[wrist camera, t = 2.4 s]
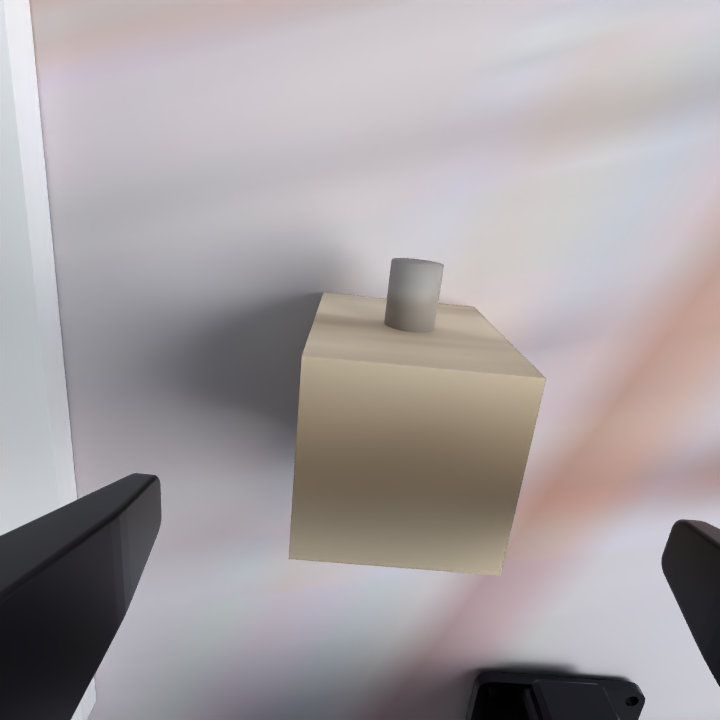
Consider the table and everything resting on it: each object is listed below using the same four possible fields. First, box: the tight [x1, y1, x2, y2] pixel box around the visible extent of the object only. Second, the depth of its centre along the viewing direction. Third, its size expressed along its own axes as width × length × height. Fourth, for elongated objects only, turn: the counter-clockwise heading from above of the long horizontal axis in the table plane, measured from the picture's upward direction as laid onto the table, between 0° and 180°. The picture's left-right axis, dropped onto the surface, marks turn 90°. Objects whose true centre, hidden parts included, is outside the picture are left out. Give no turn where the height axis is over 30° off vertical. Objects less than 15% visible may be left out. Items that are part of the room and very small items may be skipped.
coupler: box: [289, 258, 546, 575], centre depth 13 cm, size 8×4×6 cm, turn 174°
